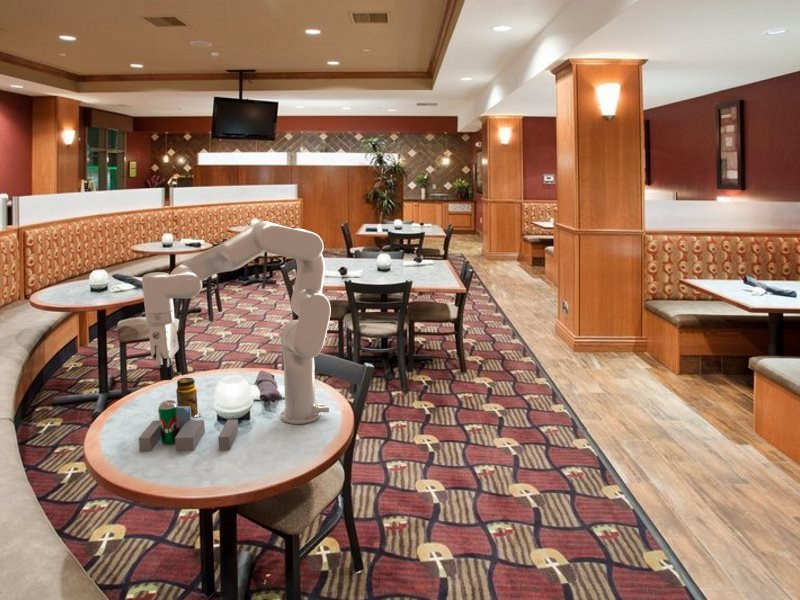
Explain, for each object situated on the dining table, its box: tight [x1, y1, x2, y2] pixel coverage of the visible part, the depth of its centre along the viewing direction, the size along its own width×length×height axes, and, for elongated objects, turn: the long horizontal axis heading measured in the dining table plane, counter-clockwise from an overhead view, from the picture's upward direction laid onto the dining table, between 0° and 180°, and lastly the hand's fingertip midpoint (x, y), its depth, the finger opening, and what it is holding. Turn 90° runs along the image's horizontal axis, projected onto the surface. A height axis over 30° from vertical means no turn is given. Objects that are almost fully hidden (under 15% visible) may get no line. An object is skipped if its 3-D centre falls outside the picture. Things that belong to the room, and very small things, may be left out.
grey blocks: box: [138, 406, 239, 452], centre depth 180 cm, size 25×13×8 cm, turn 93°
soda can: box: [158, 399, 179, 446], centre depth 179 cm, size 5×5×12 cm
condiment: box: [175, 377, 199, 417], centre depth 198 cm, size 7×8×12 cm
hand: (167, 379), depth 176 cm, fingers closed
